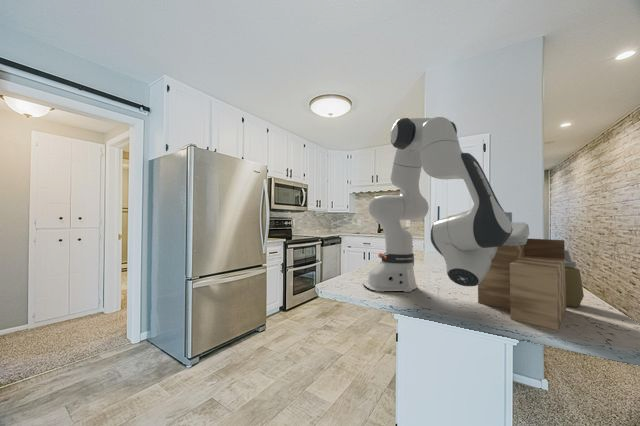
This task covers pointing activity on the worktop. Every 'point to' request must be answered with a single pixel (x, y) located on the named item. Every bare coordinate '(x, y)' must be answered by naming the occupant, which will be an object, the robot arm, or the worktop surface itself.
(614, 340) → the worktop surface
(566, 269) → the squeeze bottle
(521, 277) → the stepped wooden blocks
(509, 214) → the blue-grey bar
